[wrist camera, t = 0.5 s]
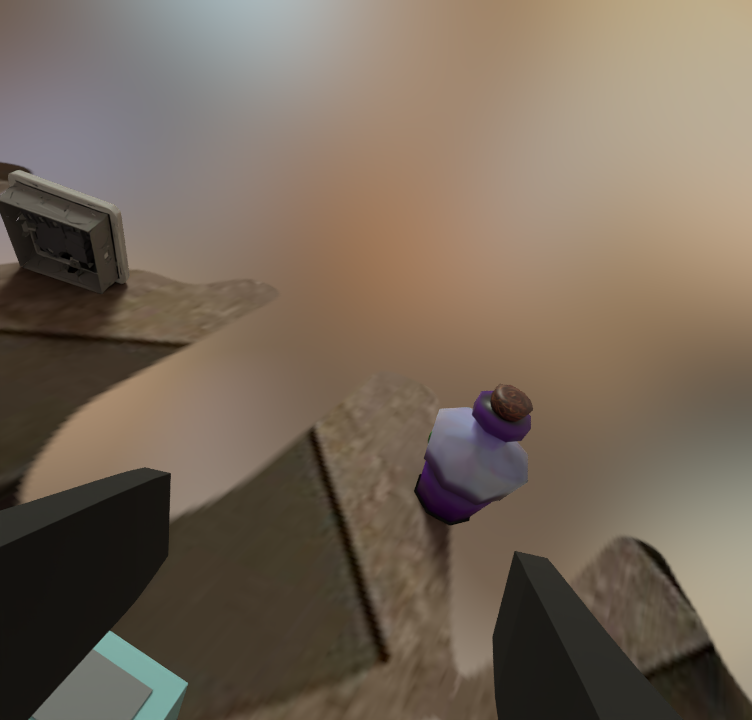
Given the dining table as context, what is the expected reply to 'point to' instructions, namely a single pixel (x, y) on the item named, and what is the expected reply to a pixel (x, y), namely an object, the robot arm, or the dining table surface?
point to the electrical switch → (64, 232)
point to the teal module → (115, 687)
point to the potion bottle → (475, 455)
